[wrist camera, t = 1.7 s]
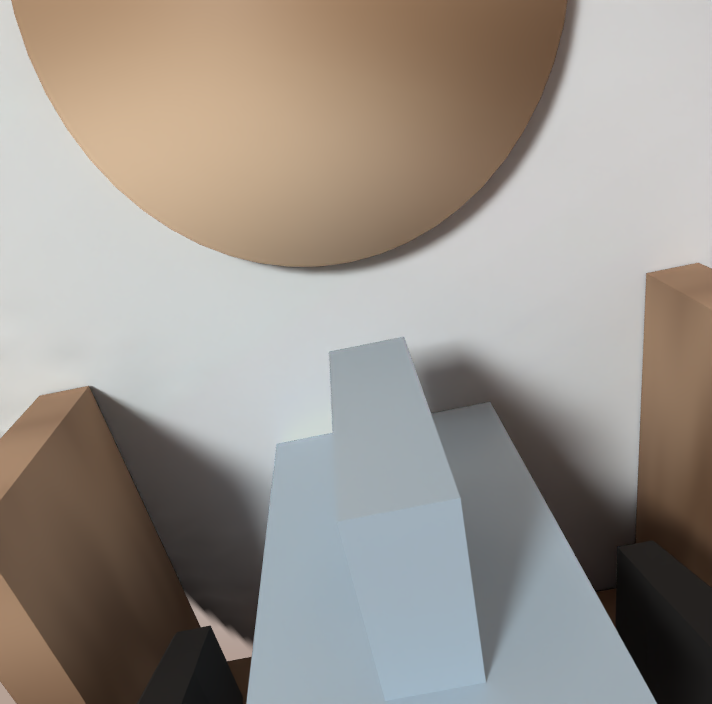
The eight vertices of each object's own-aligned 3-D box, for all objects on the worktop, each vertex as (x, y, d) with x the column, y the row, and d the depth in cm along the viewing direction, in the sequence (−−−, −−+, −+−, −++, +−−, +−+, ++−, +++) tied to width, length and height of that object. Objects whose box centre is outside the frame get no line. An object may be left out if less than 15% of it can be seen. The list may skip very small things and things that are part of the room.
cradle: (669, 604, 15) (785, 772, 11) (192, 694, 15) (152, 885, 11) (697, 262, 11) (897, 352, 7) (38, 395, 11) (-99, 548, 7)
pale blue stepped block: (507, 581, 14) (664, 988, 8) (329, 615, 14) (338, 1042, 8) (477, 276, 10) (722, 561, 4) (240, 324, 11) (123, 673, 4)
